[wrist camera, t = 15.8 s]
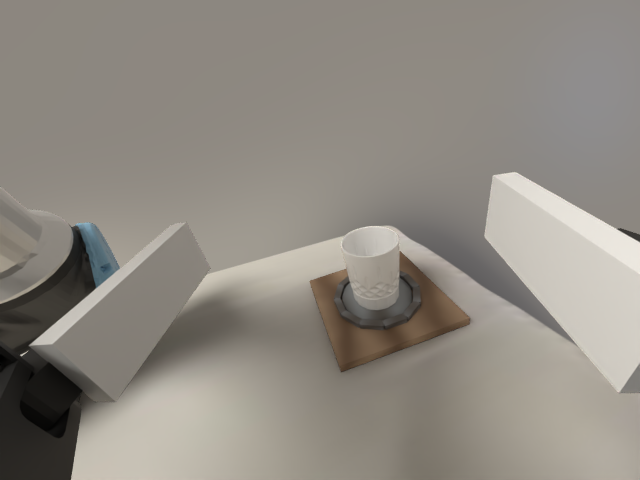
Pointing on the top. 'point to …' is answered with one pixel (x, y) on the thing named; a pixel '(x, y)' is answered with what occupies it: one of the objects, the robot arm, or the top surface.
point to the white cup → (373, 266)
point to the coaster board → (383, 316)
